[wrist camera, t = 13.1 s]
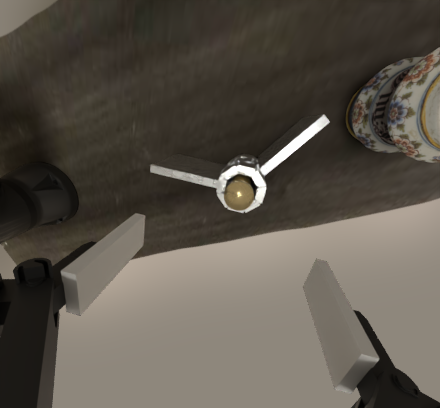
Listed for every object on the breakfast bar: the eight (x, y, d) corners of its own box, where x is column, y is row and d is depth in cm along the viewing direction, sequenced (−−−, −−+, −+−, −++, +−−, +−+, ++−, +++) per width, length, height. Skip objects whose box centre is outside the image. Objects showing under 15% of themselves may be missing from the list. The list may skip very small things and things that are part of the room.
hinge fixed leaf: (176, 172, 43) (149, 189, 32) (179, 139, 40) (152, 144, 29) (256, 192, 42) (257, 216, 31) (266, 158, 39) (271, 172, 28)
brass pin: (231, 179, 42) (221, 206, 28) (235, 160, 40) (227, 179, 26) (250, 183, 41) (249, 213, 28) (255, 164, 40) (257, 186, 26)
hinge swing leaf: (242, 195, 42) (238, 220, 32) (219, 171, 41) (207, 187, 30) (317, 135, 36) (343, 140, 25) (292, 104, 35) (309, 95, 24)
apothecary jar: (370, 162, 37) (466, 194, 20) (322, 117, 35) (383, 112, 19) (438, 104, 32) (634, 83, 16) (387, 49, 31) (542, -37, 14)
